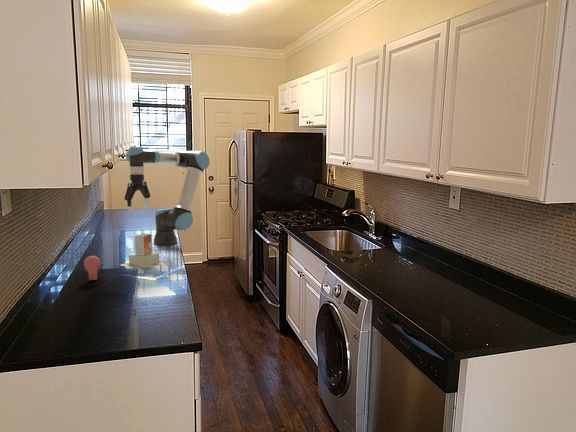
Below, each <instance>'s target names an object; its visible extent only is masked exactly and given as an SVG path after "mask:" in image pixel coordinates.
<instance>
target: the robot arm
mask: <svg viewBox="0 0 576 432" xmlns="http://www.w3.org/2000/svg"><path fill="white" fill-rule="evenodd" d="M125 158H126V160H127V161H128V162H129V173H130V174H129V177H130V180H129V181H131V182H128V183H127V186H126V187H127V188H126V191H125V195H124V201H126V202H127V212H128V213H134V205H133V202H134V201H133V197H134V196H135V194H136V192H137V191H139V192H140V194H141V195H142V196H143V198H142V202H143V203H142V204H143V205H142V206H143V207H142V208H143V210H149V199H150V198H151V193H150V190H149V188H148V185H147V181H145V175H144V173H145V169H144V168H145V167H144V164H160V165H171V166H173V167H178V168H184V169H185V170H186V174H185V176H184V177H185V178H184V181H183V184H182V188H181V191H180V194H179V198H178V201H177V204H176V206H174V207H171V208H160V209H156V211H155V215H154V216H155V217H154V219H155V235H154V238H153V245H156V246H171V244H172V245H176V244H177V243H178V238H177V235H176V232H175V230H177V231H188V229H189V230H190V228H192V225H193V223H194V218H193V214H192V209H191V207H192V205H193V201H194V197H195V195H196V191H197V187H198V183H199V180H200V176H201V175H203V174H204V171H205V170H207V169H208V168H209V166H210V157H209V155H208V154H207V153H206V151H201V150H184V151H182V150H181V151H172V152H164V151H163V152H162V151H159V150H154V149H150V150H149V149H144V148H143V146H130V147H129V150H128V151H126V154H125ZM175 243H176V244H175Z"/></svg>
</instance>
